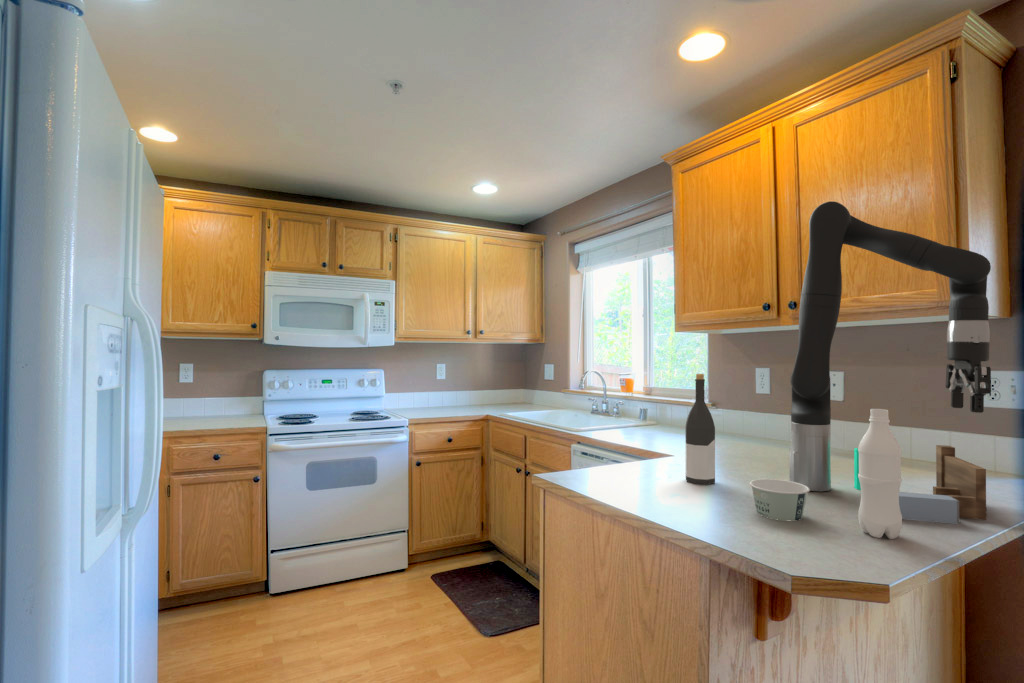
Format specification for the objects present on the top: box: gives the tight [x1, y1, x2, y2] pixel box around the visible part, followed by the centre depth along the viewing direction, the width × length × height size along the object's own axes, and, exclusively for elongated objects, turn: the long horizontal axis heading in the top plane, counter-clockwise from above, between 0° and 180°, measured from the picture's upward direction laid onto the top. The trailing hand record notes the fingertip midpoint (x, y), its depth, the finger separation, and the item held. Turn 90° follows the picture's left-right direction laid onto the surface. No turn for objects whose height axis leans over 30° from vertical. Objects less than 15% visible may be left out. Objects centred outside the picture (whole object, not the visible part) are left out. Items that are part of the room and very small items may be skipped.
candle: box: [853, 447, 861, 491], centre depth 140 cm, size 6×6×12 cm
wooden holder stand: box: [932, 444, 987, 521], centre depth 125 cm, size 7×18×13 cm, turn 162°
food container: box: [749, 478, 811, 521], centre depth 119 cm, size 12×12×6 cm
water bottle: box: [857, 408, 903, 540], centre depth 106 cm, size 7×7×25 cm
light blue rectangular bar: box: [899, 491, 960, 525], centre depth 117 cm, size 14×4×5 cm, turn 72°
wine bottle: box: [685, 373, 716, 486], centre depth 148 cm, size 8×8×30 cm
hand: (966, 410), depth 123 cm, fingers open, 8 cm apart
